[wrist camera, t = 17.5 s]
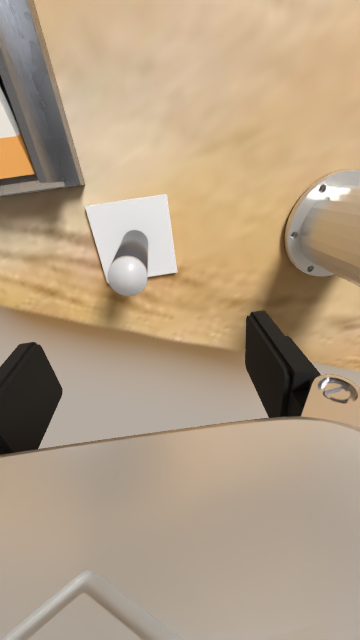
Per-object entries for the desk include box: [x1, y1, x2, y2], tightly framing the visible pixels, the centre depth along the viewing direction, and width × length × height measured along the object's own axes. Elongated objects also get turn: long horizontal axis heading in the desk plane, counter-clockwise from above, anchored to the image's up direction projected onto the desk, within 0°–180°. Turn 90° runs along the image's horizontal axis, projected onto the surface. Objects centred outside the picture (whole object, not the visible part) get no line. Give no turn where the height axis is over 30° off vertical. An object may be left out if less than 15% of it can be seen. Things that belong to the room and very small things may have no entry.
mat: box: [85, 194, 177, 283], centre depth 29 cm, size 9×9×1 cm
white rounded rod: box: [107, 230, 148, 296], centre depth 24 cm, size 3×3×12 cm
